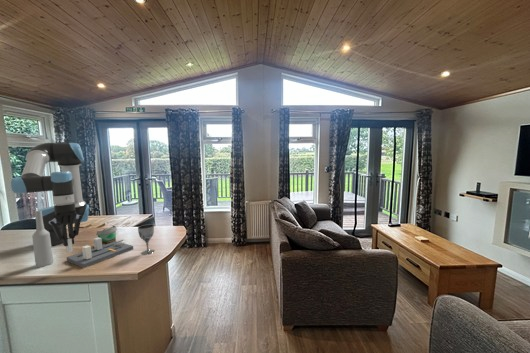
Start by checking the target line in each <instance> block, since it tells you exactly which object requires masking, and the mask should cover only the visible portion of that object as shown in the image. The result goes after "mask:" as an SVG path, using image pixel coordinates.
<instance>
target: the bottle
mask: <svg viewBox="0 0 530 353" xmlns="http://www.w3.org/2000/svg"><path fill="white" fill-rule="evenodd" d="M34 213H35V216H36V217H35V218H36V219H35V224H36V225H35V226H36V231H34V233H33V234H32V237H31V238H32V245H33V253H34V263H35V268H44V267H48V266H50V265H52V264H54V256H53V250H52V247H53V246H51V240H50V233H49V232H48V231H47V230H45V229H44V224H43V218H42V211H38V210H35V211H34Z"/></svg>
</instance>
